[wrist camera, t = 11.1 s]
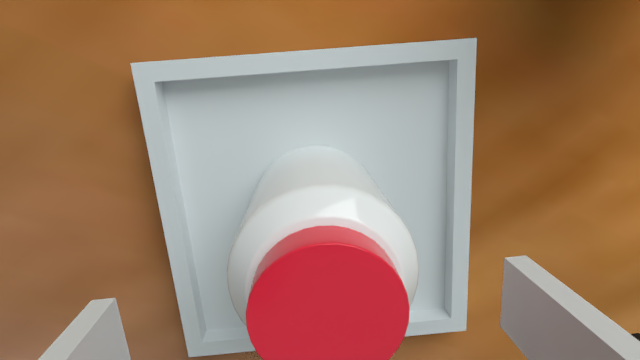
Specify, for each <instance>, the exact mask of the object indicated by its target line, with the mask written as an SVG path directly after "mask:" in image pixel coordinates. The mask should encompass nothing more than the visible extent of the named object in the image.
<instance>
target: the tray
mask: <svg viewBox="0 0 640 360" xmlns="http://www.w3.org/2000/svg"><path fill="white" fill-rule="evenodd" d="M476 47H477V38H468V39H454V40H440V41H427V42H413V43H399V44H386V45H372V46H358V47H345V48H331V49H317V50H304V51H290V52H276V53H263V54H249V55H235V56H222V57H208V58H195V59H181V60H167V61H154V62H140V63H131V68H132V73H133V78H134V83H135V88H136V93H137V99H138V104H139V109H140V114H141V119H142V124H143V129H144V134H145V139H146V144H147V149H148V154H149V159H150V164H151V169H152V174H153V179H154V184H155V189H156V194H157V200H158V205H159V210H160V215H161V220H162V225H163V230H164V235H165V240H166V245H167V250H168V255H169V260H170V265H171V270H172V275H173V280H174V285H175V290H176V295H177V301H178V306H179V311H180V316H181V321H182V326H183V331H184V336H185V341H186V346H187V351H188V356H189V357H197V356H207V355H217V354H228V353H238V352H249V351H256V350H255V348H254V346H253V345H252V343H251V340H250V337H249V334H248V330H247V327H246V325H245V324H244V323H243V322H242V321H241V319H240V317H239V315H238V314H237V312H236V310H235V308H234V307H233V304H232V300H231V297H230V294H229V291H228V281H227V265H228V258H229V253H230V250H231V247H232V245H233V242H234V239H235V237H236V234H237V232H238V229H239V227H240V224H241V222H242V220H243V217H244V215H245V212H246V210H247V207H248V205H249V203H250V200H251V198H252V195H253V193H254V190H255V188H256V186H257V183H258V181H259V179H260V178H261V176H262V175H263V173H264V171H265V170H266V169H267V168H268V167H269V166H270V165H271V164H272V163H273V162H274V161H275V160H276V159H278V158H279V157H281V156H282V155H284V154H285V153H288V152H290V151H292V150H295V149H298V148H303V147H307V146H325V147H331V148H336V149H338V150H341V151H343V152H346V153H348V154H349V155H351V156H352V157H354V158H355V159H357V160H358V161H359V162H360V163H361V164H362V165H363V166H364V167H365V168H366V169H367V171H368V172H369V173H370V175H371V176H372V178H373V179H374V181H375V182H376V183H377V185H378V186H379V188H380V189H381V191H382V192H383V193H384V195H385V196H386V198H387V199H388V201H389V202H390V203H391V205H392V206H393V208H394V209H395V211H396V212H397V213H398V215H399V216H400V218H401V219H402V221H403V222H404V224H405V225H406V227H407V228H408V230H409V232H410V233H411V236H412V239H413V241H414V244H415V246H416V249H417V256H418V263H419V276H418V286H417V289H416V293H415V296H414V299H413V302H412V304H411V306H410V312H409V324H408V327H407V330H406V334H405V336H415V335H425V334H435V333H446V332H456V331H466V321H467V293H468V266H469V239H470V211H471V184H472V157H473V129H474V102H475V74H476Z"/></svg>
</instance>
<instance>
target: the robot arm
mask: <svg viewBox="0 0 640 360" xmlns="http://www.w3.org/2000/svg"><path fill="white" fill-rule="evenodd" d="M500 327H501V328H502V329H503V330H504V331H505V333H506V334H507V335H508V336H509V337H510V339H511V340H512V341H513V342H514V343H515V344H516V346H517V347H518V348H519V349H520V350H521V352H522V353H523V354H524V355H525V356H526V357H527V359H528V360H640V334H639V333H636V334H629V333H628V332H627V331H625V330H624V329H623V328H621V327H620V326H619V325H617V324H616V323H615V322H613V321H612V320H611V319H609V318H608V317H607V316H606V315H604V314H603V313H602V312H600V311H599V310H598V309H596V308H595V307H594V306H592V305H591V304H590V303H588V302H587V301H586V300H584V299H583V298H582V297H580V296H579V295H578V294H576V293H575V292H574V291H572V290H571V289H570V288H568V287H567V286H566V285H564V284H563V283H562V282H560V281H559V280H558V279H556V278H555V277H554V276H553V275H551V274H550V273H549V272H547V271H546V270H545V269H543V268H542V267H541V266H539V265H538V264H537V263H535V262H534V261H533V260H531V259H530V258H529V257H527V256H516V257H507V258H505V259H504V275H503V290H502V306H501V322H500ZM38 360H131V358H130V354H129V350H128V346H127V342H126V338H125V334H124V330H123V326H122V322H121V318H120V314H119V310H118V306H117V302H116V298H109V299H99V300H91V301H90V303H89V304H88V305H87V306H86V307H85V308H84V309H83V310H82V311H81V313H80V314H79V315H78V316H77V317H76V318H75V319H74V320H73V321H72V323H71V324H70V325H69V326H68V327H67V328H66V329H65V330H64V331H63V333H62V334H61V335H60V336H59V337H58V338H57V339H56V340H55V341H54V343H53V344H52V345H51V346H50V347H49V348H48V349H47V350H46V351H45V353H44V354H43V355H42V356H41V357H40V358H39V359H38Z"/></svg>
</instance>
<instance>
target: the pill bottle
mask: <svg viewBox="0 0 640 360" xmlns="http://www.w3.org/2000/svg"><path fill="white" fill-rule="evenodd" d="M418 276H419V263H418V256H417V249H416V246H415V244H414V241H413V239H412V236H411V233H410V232H409V230H408V228H407V227H406V225H405V224H404V222H403V221H402V219H401V218H400V216H399V215H398V213H397V212H396V211H395V209H394V208H393V206H392V205H391V203H390V202H389V201H388V199H387V198H386V196H385V195H384V193H383V192H382V191H381V189H380V188H379V186H378V185H377V183H376V182H375V181H374V179H373V178H372V176H371V175H370V173H369V172H368V171H367V169H366V168H365V167H364V166H363V165H362V164H361V163H360V162H359V161H358V160H357V159H355V158H354V157H352V156H351V155H349V154H348V153H346V152H343V151H341V150H338V149H336V148H331V147H325V146H307V147H303V148H298V149H295V150H292V151H290V152H288V153H285V154H284V155H282V156H281V157H279V158H278V159H276V160H275V161H274V162H273V163H272V164H271V165H270V166H269V167H268V168H267V169H266V170H265V171H264V173H263V175H262V176H261V178H260V179H259V181H258V183H257V186H256V188H255V190H254V193H253V195H252V198H251V200H250V203H249V205H248V207H247V210H246V212H245V215H244V217H243V220H242V222H241V224H240V227H239V229H238V232H237V234H236V237H235V239H234V242H233V245H232V247H231V250H230V253H229V258H228V265H227V281H228V291H229V294H230V297H231V300H232V304H233V307H234V308H235V310H236V312H237V314H238V315H239V317H240V319H241V321H242V322H243V323H244V324H245V325H246V327H247V330H248V334H249V337H250V340H251V343H252V345H253V346H254V348H255V350H256V352H257V353H258V355H259V356H260V357H261V358H262V359H263V360H389V359H390V358H391V357H392V356H393V354H394V353H395V352H396V351H397V349H398V348H399V346H400V344H401V342H402V340H403V339H404V337H405V334H406V330H407V327H408V324H409V312H410V306H411V304H412V302H413V299H414V296H415V293H416V289H417V286H418Z"/></svg>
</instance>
